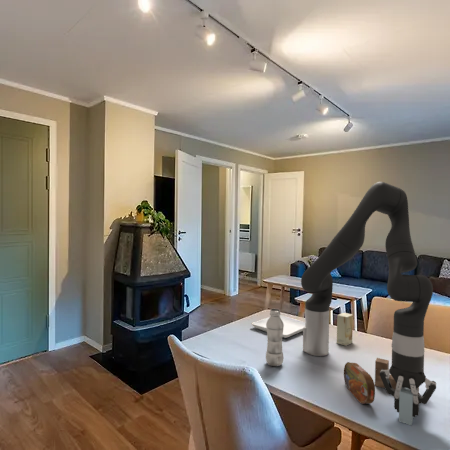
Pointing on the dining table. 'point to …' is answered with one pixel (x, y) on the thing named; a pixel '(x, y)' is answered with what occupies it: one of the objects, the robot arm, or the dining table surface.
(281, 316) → the salad plate
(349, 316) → the skincare box
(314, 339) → the robot arm
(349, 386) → the tin
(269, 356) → the plastic bottle
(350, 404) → the dining table surface
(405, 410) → the cross plate
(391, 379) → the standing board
